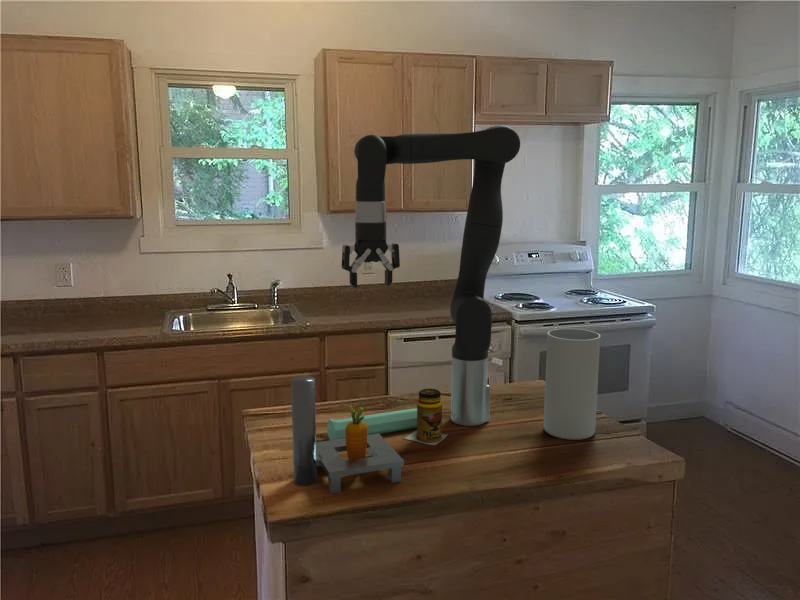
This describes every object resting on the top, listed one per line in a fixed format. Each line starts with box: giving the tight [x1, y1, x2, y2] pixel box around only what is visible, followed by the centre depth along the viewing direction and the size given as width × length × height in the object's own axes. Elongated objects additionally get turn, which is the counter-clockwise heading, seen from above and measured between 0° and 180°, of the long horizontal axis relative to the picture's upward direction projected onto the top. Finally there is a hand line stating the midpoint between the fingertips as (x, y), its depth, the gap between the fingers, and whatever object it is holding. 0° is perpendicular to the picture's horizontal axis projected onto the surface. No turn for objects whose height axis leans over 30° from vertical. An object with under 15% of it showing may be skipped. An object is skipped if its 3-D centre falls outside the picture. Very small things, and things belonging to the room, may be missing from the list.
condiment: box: [403, 388, 449, 446], centre depth 161 cm, size 7×8×12 cm
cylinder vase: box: [543, 328, 601, 441], centre depth 164 cm, size 12×12×25 cm
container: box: [326, 407, 417, 441], centre depth 165 cm, size 6×6×25 cm
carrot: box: [345, 405, 368, 460], centre depth 141 cm, size 5×5×15 cm
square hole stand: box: [290, 375, 405, 495], centre depth 139 cm, size 21×16×22 cm
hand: (371, 286), depth 163 cm, fingers open, 8 cm apart
